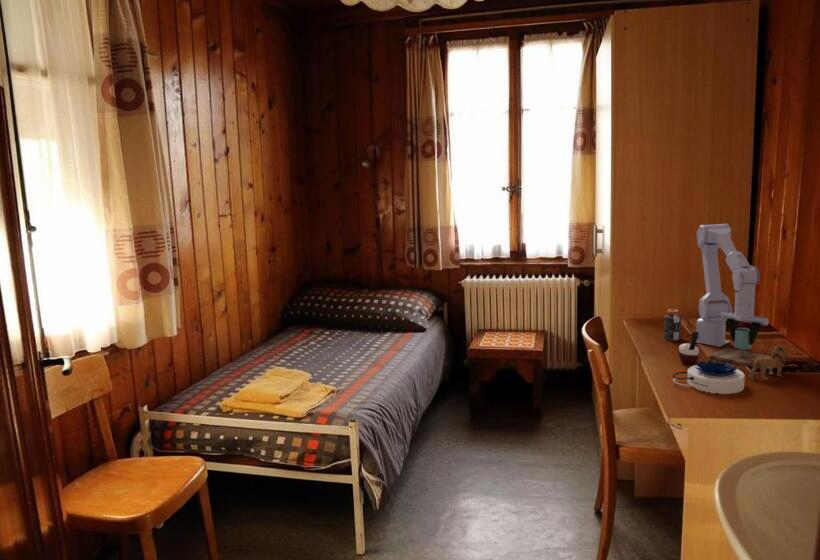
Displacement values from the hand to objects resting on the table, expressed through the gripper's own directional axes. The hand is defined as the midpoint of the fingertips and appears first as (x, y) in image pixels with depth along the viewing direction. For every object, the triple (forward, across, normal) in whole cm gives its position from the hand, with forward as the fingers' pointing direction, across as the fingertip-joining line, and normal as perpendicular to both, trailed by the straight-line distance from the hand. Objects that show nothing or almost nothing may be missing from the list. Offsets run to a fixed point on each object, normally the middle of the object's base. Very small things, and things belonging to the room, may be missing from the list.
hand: (742, 342), depth 206 cm
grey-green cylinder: (+2, 0, 0) cm, 2 cm away
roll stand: (+6, 0, 0) cm, 6 cm away
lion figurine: (+6, +12, -12) cm, 18 cm away
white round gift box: (+6, +2, -30) cm, 31 cm away
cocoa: (+6, -11, -15) cm, 20 cm away
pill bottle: (+6, -29, +8) cm, 31 cm away
